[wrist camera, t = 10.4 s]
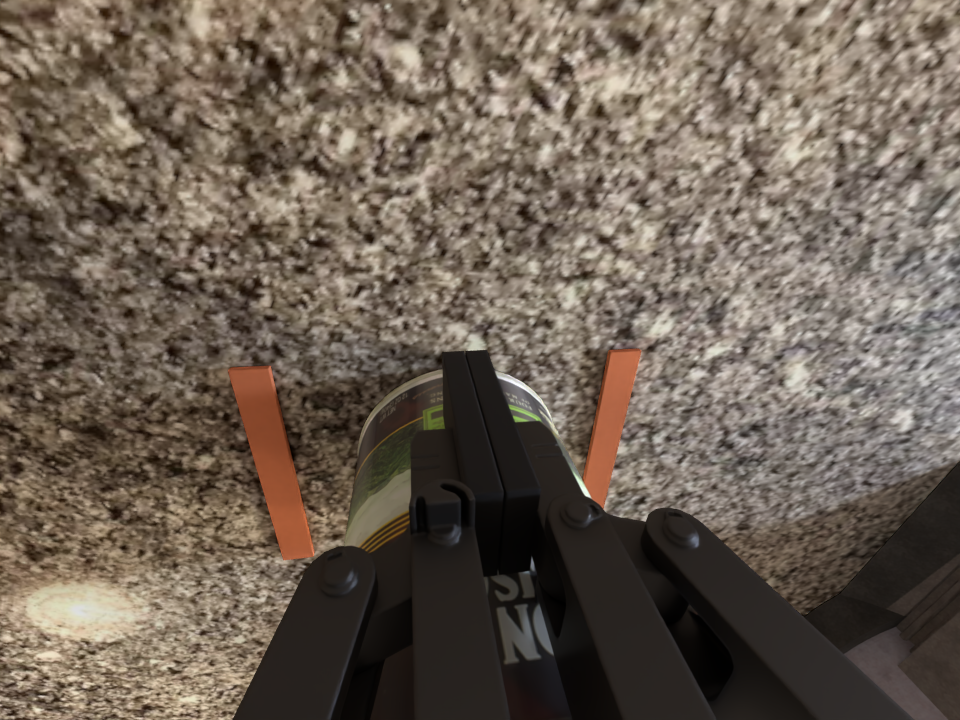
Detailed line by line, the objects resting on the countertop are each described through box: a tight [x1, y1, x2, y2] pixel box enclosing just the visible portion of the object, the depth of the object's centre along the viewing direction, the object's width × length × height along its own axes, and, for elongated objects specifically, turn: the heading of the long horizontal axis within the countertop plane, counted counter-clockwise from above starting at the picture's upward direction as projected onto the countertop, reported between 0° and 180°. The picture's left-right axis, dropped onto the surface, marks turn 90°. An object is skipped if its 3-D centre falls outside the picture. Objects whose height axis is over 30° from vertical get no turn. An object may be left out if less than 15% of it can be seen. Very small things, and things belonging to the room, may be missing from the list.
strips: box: [228, 349, 641, 560], centre depth 21 cm, size 12×19×1 cm, turn 88°
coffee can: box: [344, 369, 592, 720], centre depth 15 cm, size 10×10×14 cm
